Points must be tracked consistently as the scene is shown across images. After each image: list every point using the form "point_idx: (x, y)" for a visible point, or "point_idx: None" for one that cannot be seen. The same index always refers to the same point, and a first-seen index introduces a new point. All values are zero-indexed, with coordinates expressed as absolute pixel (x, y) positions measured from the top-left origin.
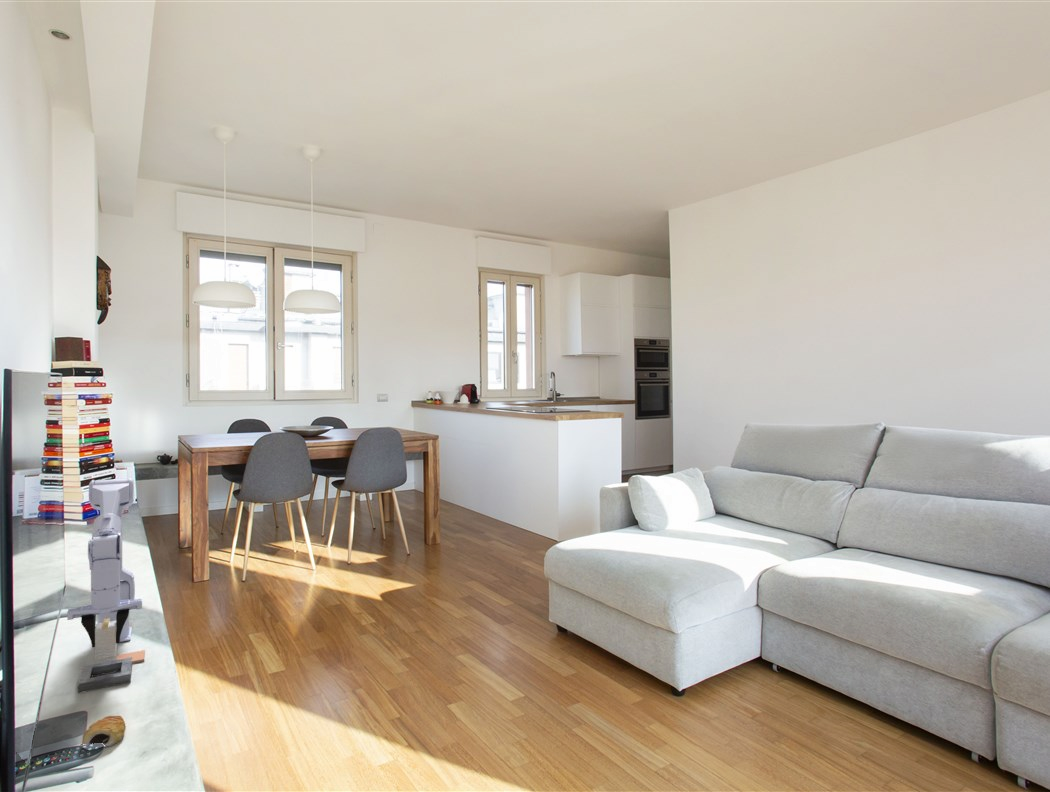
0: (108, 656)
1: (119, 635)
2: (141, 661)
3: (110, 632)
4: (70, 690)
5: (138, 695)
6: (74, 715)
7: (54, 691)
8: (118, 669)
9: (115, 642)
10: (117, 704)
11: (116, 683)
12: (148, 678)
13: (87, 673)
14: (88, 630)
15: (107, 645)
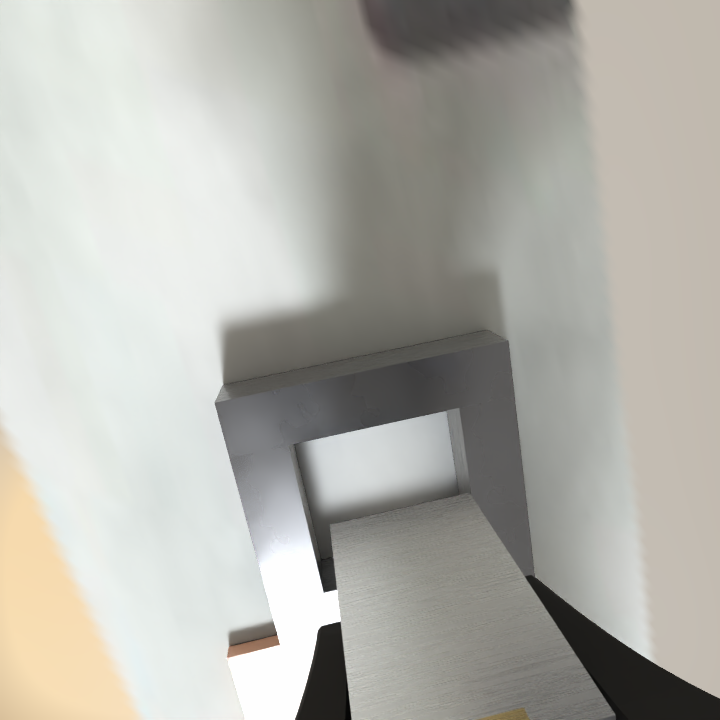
0: (381, 515)
1: (313, 682)
2: (242, 645)
3: (408, 692)
4: (533, 377)
5: (107, 168)
6: (433, 2)
7: (609, 389)
8: None
9: (340, 601)
10: (207, 70)
11: (297, 372)
12: (126, 412)
13: (488, 481)
14: (691, 699)
15: (406, 573)
